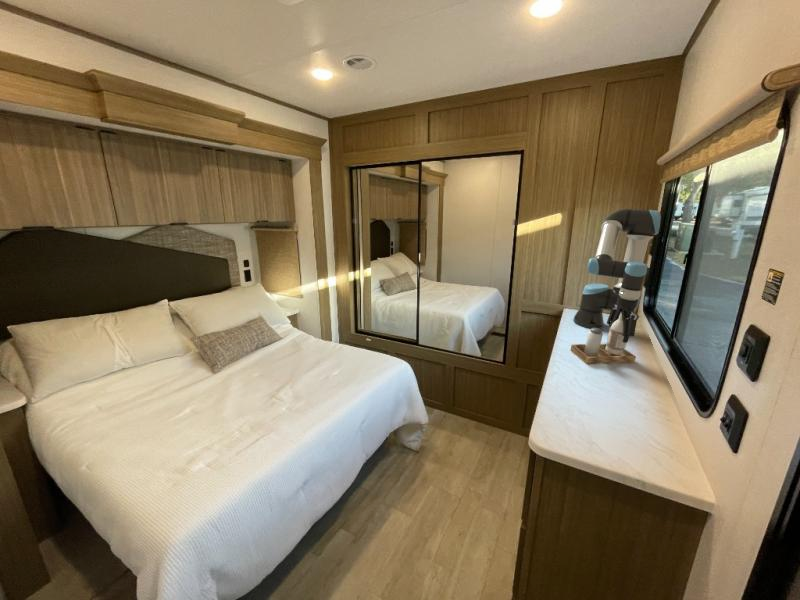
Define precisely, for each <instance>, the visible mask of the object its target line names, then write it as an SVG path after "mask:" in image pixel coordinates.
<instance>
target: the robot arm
mask: <svg viewBox="0 0 800 600" xmlns="http://www.w3.org/2000/svg"><path fill="white" fill-rule="evenodd" d="M660 225H661V212H660V211H658V210H654V209H637V208H636V209H634V208H622V209H618V210H615V211H613V212H612V213H610V214H608V216H606V217H605V218H604V220H603V221H602V223H601V226H600V231H601V234H600V238H599V241H598V246H597V249H596V253H595V257H591V258H589V260H588V263H587V268H586V270H587V271H586V273H588V274H591V275H596V276H603V277H612V278H617V279H618V282H617V284H616V283H615V284H614V285H613V287H612V288H610V286H609V285H607V284H605V283H589V284H586V285H584V288H583V291H582V296H581V300H580V304H579V309H578V310H577V312H576V313H575V315H574V316H573V320H572V321H573V323H575V324H576V325H578V326H579V327H580V326H581V327H583V328H589V329H591V328H599V329H601V328H602V329H603V326H604V315H603V312H604V310H608V311H610V312H609V316H608V318H607V321H606V324H607V325H608V327H609V328H608V334H607V338H606V341H607V340H608V336H609V332H610V328H611V326H612V324H613V323H614V322H615V321H616V320H618V319H619V315H620V312H622V320H623V331H624V335H622V336H621V339H620V343H619V347H618V348H624V349H626V345H627V343H628V342H629V339H630V337H635V334H636V329H637V328H636V327H637V321H638V319H639V318H640V316H639V314H638V315H637V314H635V312H636V310H637V308H638V307H639V304H640V301H641V299H642V296H643V295H642V288H643V284H644V282H645V278H646V275H647V273H648V265H647V263H644V261H645V257H646V252H647V249H648V246H649V241H651V240H652V239H654V237H655V235H658V234H659V232H660V227H661V226H660ZM621 232H623V233H626V237H627V238H628V242H627V246H626V250H625V255H624V256H623V258H624V259H623V261H619V260H614V258H615V257H614V255H615V252H616V248H617V243H618V239H619V236H620V233H621ZM625 318H627V319H625Z"/></svg>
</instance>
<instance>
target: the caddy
mask: <svg viewBox="0 0 800 600" xmlns="http://www.w3.org/2000/svg"><path fill="white" fill-rule="evenodd" d="M606 344H607V343H601V344H600V348H599V352H598V356H597V357H588V356H587V355H585V354H584V350H585V345H586V343H577V344H571V345H570V351H571V353H573V354H574V355H575V356H576V357H577V358H578V359H579V360H581V361H582V362H583V363H584V364H585V365H603V364H604V365H607V364H609V365H610V364H612V365H613V364H634V363H635V361H636V358H637V356H636V355H634V354H633V353H631V352H630V351H628V350H627V349H626V348H624V350H623V353H622V354H621V355H615V354H611V353H609V352H607V351H606V350H605V348H606Z"/></svg>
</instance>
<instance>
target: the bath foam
mask: <svg viewBox="0 0 800 600" xmlns="http://www.w3.org/2000/svg"><path fill="white" fill-rule="evenodd" d="M625 319H628V318H625ZM608 334H609V336H608V335H607V337H608V340H607V339H606V343H605V344H606V348H605V350H606V351H607V352H609V353H611V354H615V355H621V354H622V353H623V350H624V349H625V348H618V347H619V343H620V339H621V336H622V335H624V331H623V320H622V312H620V315H619V319H618V320H616V321H615V322H614V323H613V324H612V326H611V328H610V332H609V333H608Z"/></svg>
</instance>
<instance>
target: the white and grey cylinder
mask: <svg viewBox="0 0 800 600" xmlns="http://www.w3.org/2000/svg"><path fill="white" fill-rule="evenodd" d="M603 335H604V333H603V329H601V328H590V329H589V330H588V333H587V337H586V343H585V344H586V345H585V350H584V354H585V355H587V356H588V357H597V356H598V352H599V348H600V344H602V339H603Z"/></svg>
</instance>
